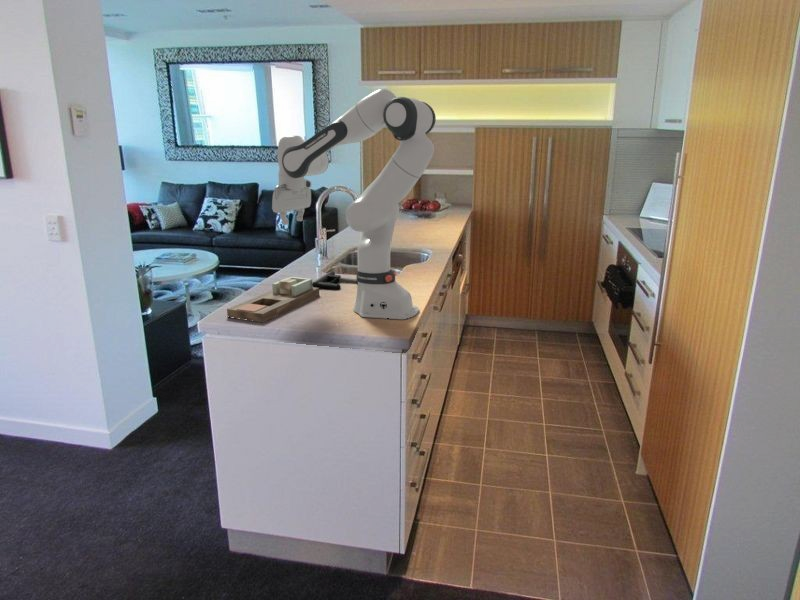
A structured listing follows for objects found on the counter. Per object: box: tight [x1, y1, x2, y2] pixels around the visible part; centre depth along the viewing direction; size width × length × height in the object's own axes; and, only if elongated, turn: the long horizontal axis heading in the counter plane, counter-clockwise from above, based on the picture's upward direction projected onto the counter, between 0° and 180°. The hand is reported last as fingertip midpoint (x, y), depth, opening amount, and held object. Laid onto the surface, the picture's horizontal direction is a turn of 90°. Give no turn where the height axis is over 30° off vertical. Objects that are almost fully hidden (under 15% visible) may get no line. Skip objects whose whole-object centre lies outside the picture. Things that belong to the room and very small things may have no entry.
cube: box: [278, 278, 297, 295], centre depth 211 cm, size 4×4×4 cm
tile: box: [237, 304, 267, 312], centre depth 192 cm, size 7×7×1 cm
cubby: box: [271, 276, 313, 296], centre depth 214 cm, size 10×12×4 cm
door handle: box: [312, 271, 357, 291], centre depth 237 cm, size 3×20×16 cm
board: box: [226, 286, 320, 323], centre depth 205 cm, size 14×36×3 cm, turn 158°
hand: (292, 222), depth 208 cm, fingers open, 8 cm apart
